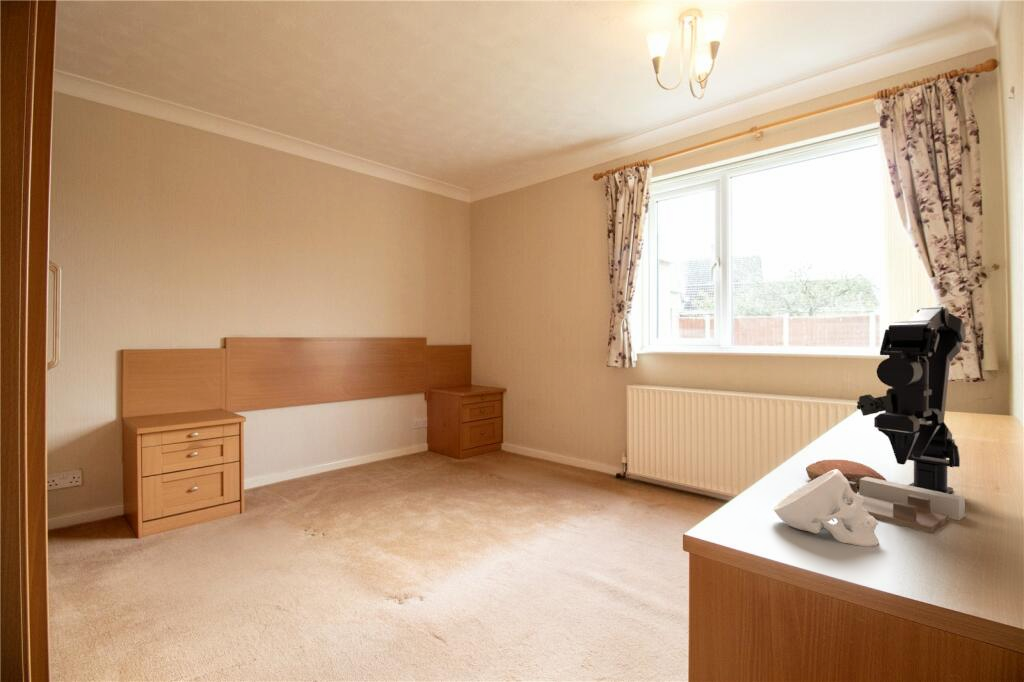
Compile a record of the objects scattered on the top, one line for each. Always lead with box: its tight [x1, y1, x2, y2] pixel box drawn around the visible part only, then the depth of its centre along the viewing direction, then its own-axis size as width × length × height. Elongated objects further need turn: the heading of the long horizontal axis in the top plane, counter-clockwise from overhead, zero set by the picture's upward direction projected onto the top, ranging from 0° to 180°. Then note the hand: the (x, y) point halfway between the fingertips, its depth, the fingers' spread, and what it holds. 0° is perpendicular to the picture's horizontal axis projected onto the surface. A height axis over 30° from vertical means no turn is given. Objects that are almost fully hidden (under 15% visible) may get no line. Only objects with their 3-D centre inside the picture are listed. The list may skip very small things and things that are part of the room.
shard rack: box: [848, 481, 949, 534], centre depth 94 cm, size 10×20×4 cm, turn 34°
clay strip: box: [858, 477, 966, 521], centre depth 96 cm, size 4×16×4 cm, turn 34°
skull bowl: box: [773, 469, 879, 547], centre depth 83 cm, size 10×14×12 cm
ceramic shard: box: [805, 459, 888, 488], centre depth 114 cm, size 15×6×15 cm
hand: (909, 460), depth 96 cm, fingers open, 9 cm apart
